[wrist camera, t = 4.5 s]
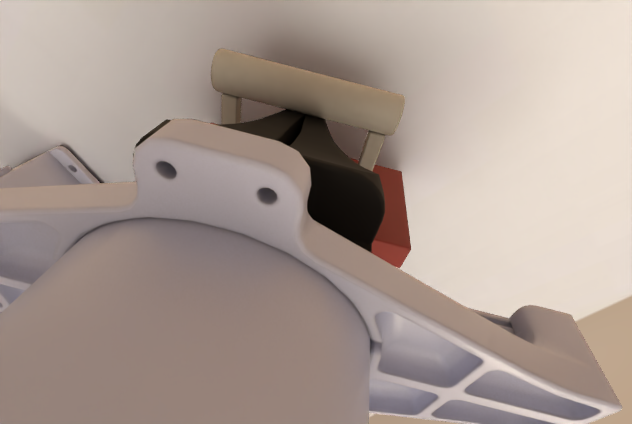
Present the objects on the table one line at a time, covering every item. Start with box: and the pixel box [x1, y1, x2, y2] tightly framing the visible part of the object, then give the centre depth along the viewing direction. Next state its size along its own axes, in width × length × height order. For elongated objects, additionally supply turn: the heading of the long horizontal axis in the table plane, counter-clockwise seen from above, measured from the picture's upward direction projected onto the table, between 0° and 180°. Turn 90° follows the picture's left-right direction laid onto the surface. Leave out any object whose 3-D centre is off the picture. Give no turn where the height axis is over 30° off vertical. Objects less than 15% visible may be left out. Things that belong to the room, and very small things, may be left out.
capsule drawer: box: [210, 49, 411, 268], centre depth 16 cm, size 16×10×6 cm, turn 169°
